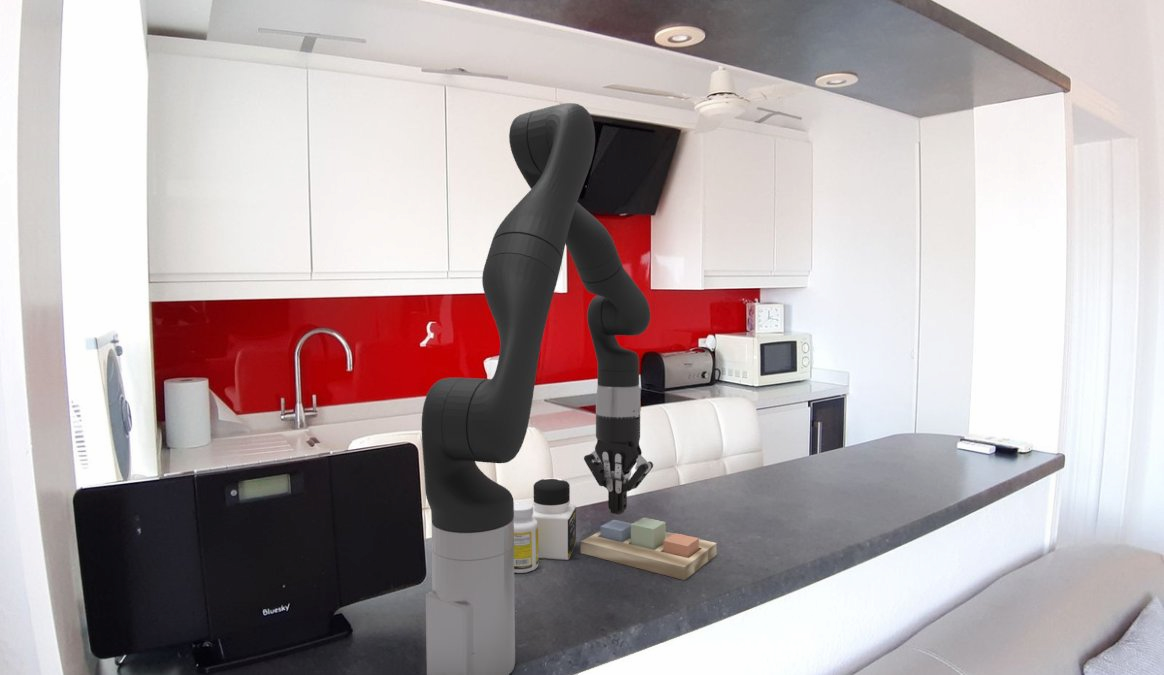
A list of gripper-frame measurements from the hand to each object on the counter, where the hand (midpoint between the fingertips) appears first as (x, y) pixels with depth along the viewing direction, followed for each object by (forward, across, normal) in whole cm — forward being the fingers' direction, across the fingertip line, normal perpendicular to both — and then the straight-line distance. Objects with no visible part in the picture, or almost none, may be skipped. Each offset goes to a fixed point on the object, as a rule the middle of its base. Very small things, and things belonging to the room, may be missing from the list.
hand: (617, 512), depth 112 cm
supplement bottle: (+6, -8, -16) cm, 19 cm away
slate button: (+6, 0, 0) cm, 6 cm away
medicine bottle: (+6, -8, -8) cm, 13 cm away
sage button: (+4, +6, 0) cm, 7 cm away
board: (+6, +6, 0) cm, 8 cm away
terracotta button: (+6, +12, 0) cm, 13 cm away
